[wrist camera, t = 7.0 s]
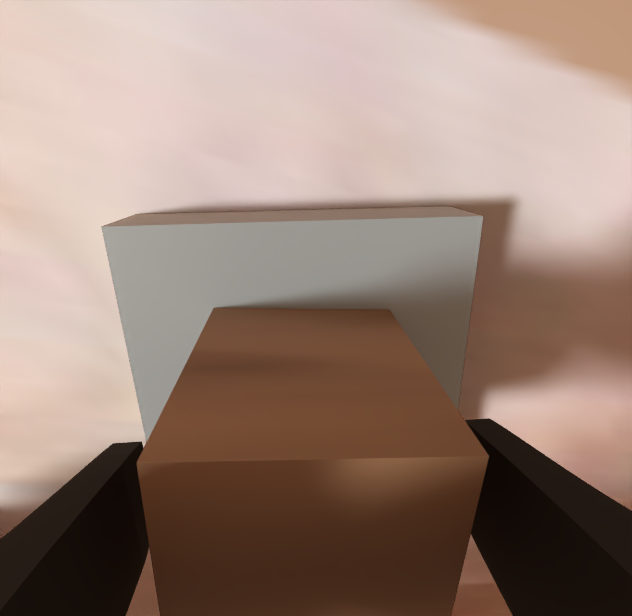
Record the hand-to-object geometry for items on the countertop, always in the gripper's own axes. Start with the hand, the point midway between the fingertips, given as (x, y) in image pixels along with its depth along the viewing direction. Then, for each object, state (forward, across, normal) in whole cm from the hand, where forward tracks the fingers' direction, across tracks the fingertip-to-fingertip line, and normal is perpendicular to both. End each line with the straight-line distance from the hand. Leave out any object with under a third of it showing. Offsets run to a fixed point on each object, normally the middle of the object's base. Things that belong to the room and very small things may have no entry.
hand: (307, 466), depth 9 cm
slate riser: (+6, 0, 0) cm, 6 cm away
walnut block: (+3, 0, 0) cm, 3 cm away
